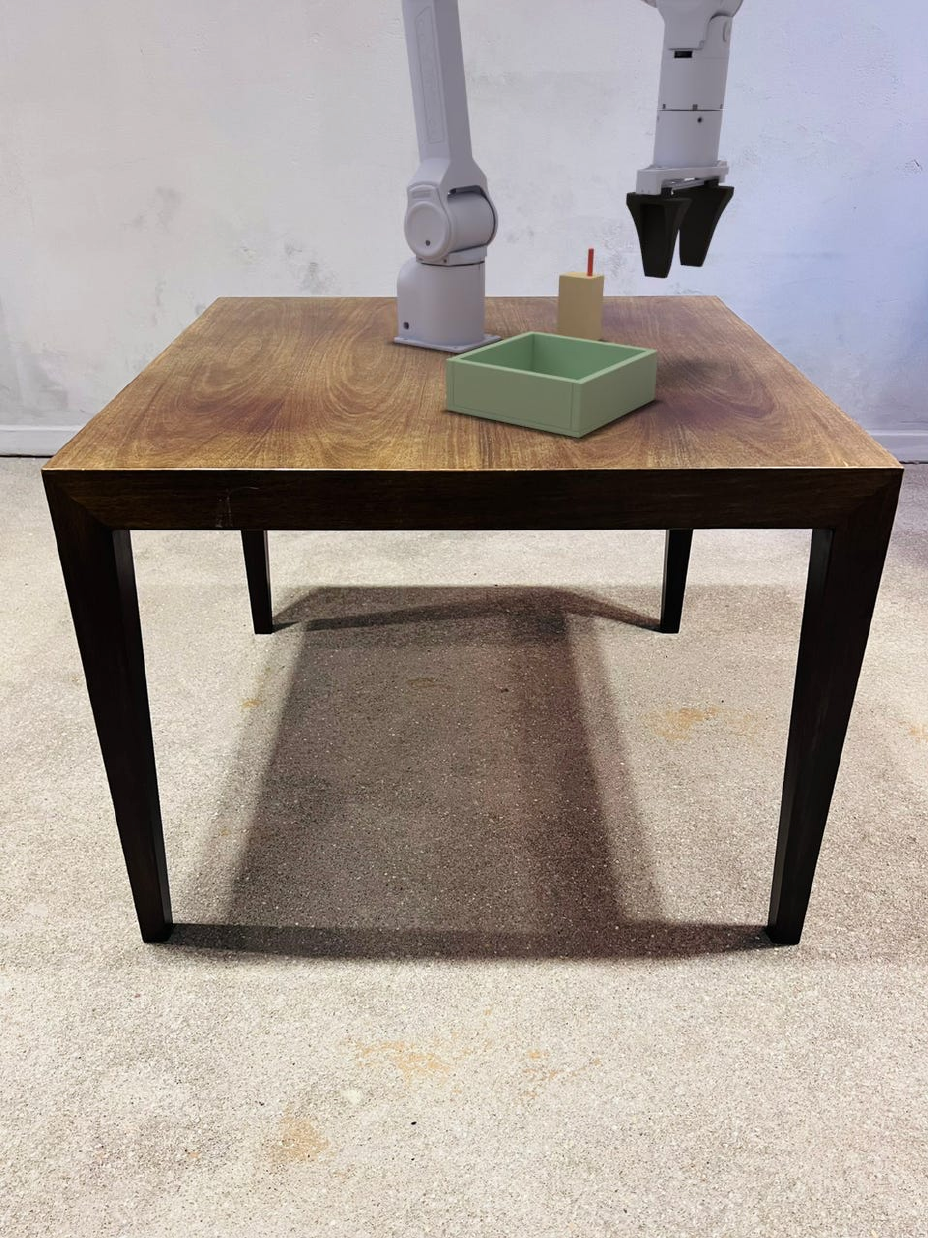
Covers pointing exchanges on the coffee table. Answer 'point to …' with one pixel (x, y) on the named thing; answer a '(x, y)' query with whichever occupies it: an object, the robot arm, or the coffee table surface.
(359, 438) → the coffee table surface
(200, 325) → the coffee table surface
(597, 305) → the juice box
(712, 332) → the coffee table surface
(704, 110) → the robot arm
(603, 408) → the bin
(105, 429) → the coffee table surface
